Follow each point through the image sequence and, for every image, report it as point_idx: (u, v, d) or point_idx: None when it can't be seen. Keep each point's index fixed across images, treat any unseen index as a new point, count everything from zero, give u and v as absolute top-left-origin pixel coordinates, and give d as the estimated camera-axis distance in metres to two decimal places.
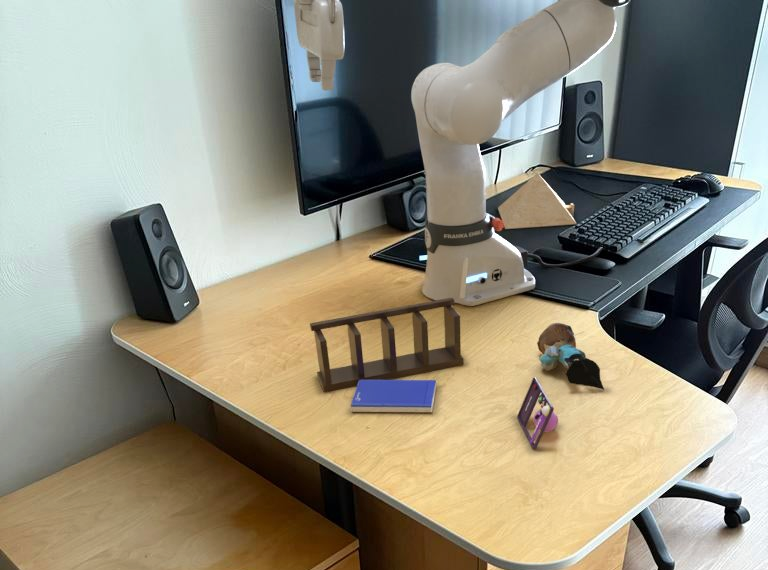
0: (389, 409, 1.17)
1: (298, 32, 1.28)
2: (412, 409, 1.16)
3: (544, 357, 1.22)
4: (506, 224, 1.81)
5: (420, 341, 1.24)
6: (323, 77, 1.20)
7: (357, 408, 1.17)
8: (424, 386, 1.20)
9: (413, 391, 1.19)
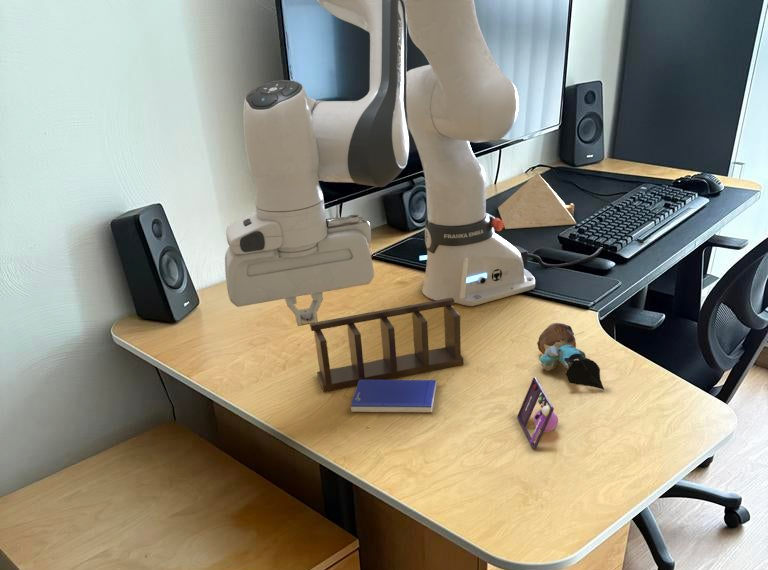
0: (389, 409, 1.17)
1: (239, 292, 1.02)
2: (412, 409, 1.16)
3: (544, 357, 1.22)
4: (506, 224, 1.81)
5: (420, 341, 1.24)
6: None
7: (357, 408, 1.17)
8: (424, 386, 1.20)
9: (413, 391, 1.19)
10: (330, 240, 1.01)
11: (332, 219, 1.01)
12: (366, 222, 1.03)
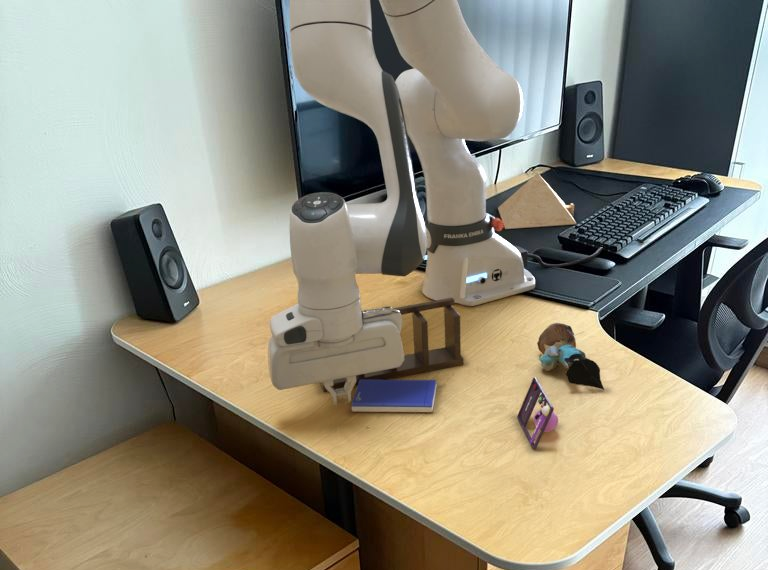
0: (389, 409, 1.17)
1: (281, 378, 1.11)
2: (412, 409, 1.16)
3: (544, 357, 1.22)
4: (506, 224, 1.81)
5: (420, 341, 1.24)
6: (350, 391, 1.16)
7: (357, 408, 1.17)
8: (425, 386, 1.20)
9: (413, 391, 1.19)
10: (365, 330, 1.10)
11: (367, 311, 1.10)
12: (398, 313, 1.11)
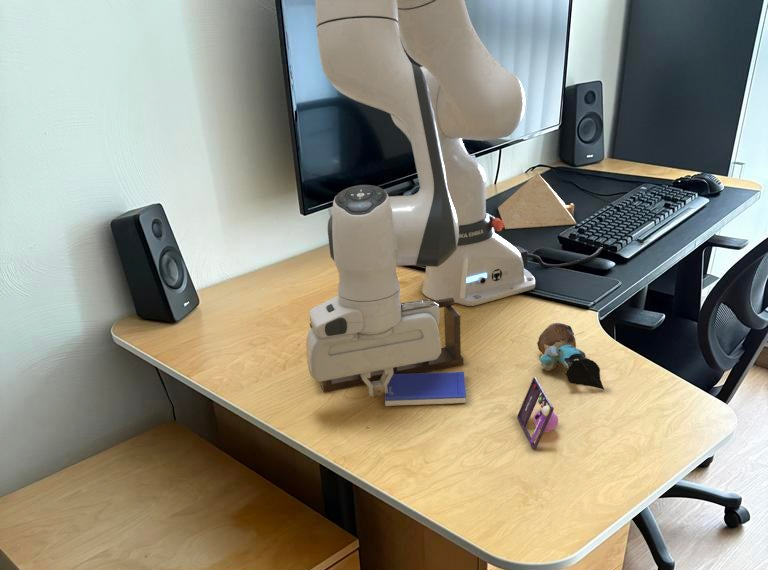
0: (423, 402, 1.18)
1: (320, 369, 1.12)
2: (446, 400, 1.17)
3: (544, 357, 1.22)
4: (506, 224, 1.81)
5: None
6: (387, 383, 1.17)
7: (391, 402, 1.18)
8: (454, 378, 1.21)
9: (444, 383, 1.20)
10: (404, 323, 1.11)
11: (406, 304, 1.11)
12: (436, 306, 1.12)
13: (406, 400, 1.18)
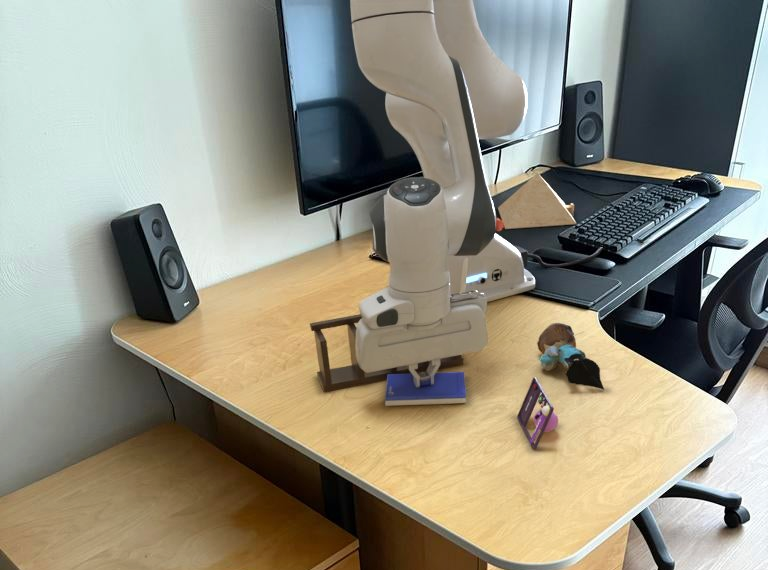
0: (423, 402, 1.18)
1: (369, 360, 1.13)
2: (446, 400, 1.17)
3: (544, 357, 1.22)
4: (506, 224, 1.81)
5: None
6: None
7: (391, 402, 1.18)
8: (455, 378, 1.21)
9: (444, 383, 1.20)
10: (453, 314, 1.12)
11: (454, 295, 1.12)
12: (484, 297, 1.14)
13: (406, 400, 1.18)
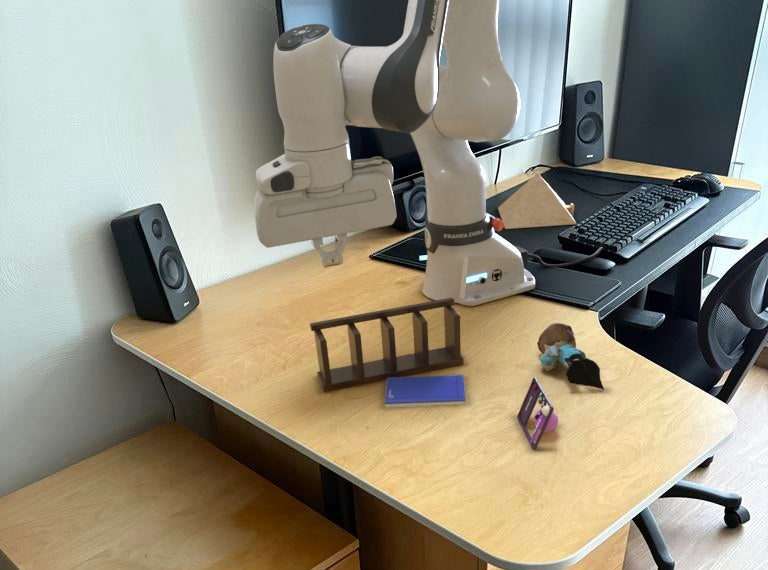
0: (423, 405, 1.18)
1: (269, 233, 1.07)
2: (446, 404, 1.18)
3: (544, 357, 1.22)
4: (506, 224, 1.81)
5: (420, 341, 1.24)
6: None
7: (391, 405, 1.18)
8: (454, 381, 1.22)
9: (444, 386, 1.20)
10: (355, 181, 1.06)
11: (357, 161, 1.06)
12: (389, 164, 1.07)
13: (406, 403, 1.18)
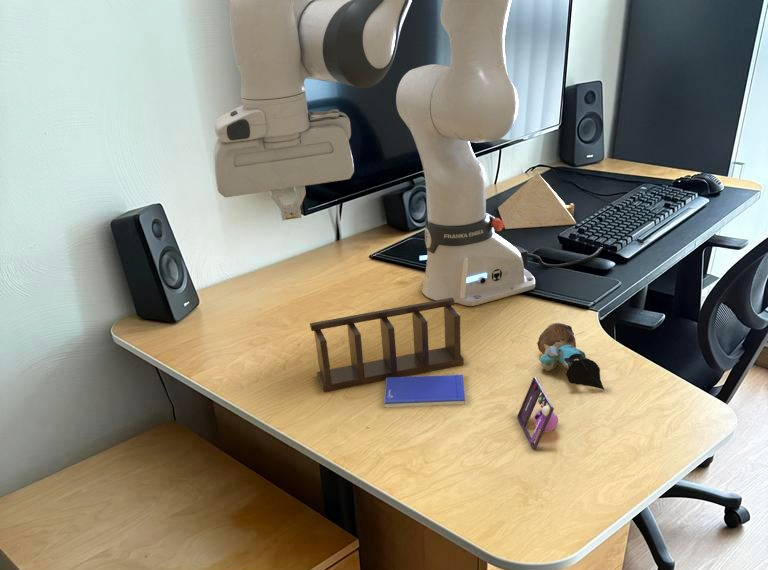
0: (422, 405, 1.18)
1: (226, 182, 1.08)
2: (445, 403, 1.18)
3: (544, 357, 1.22)
4: (506, 224, 1.81)
5: (420, 341, 1.24)
6: (300, 205, 1.14)
7: (390, 405, 1.18)
8: (453, 381, 1.22)
9: (443, 386, 1.20)
10: (312, 133, 1.08)
11: (314, 113, 1.08)
12: (346, 117, 1.09)
13: (405, 403, 1.18)
